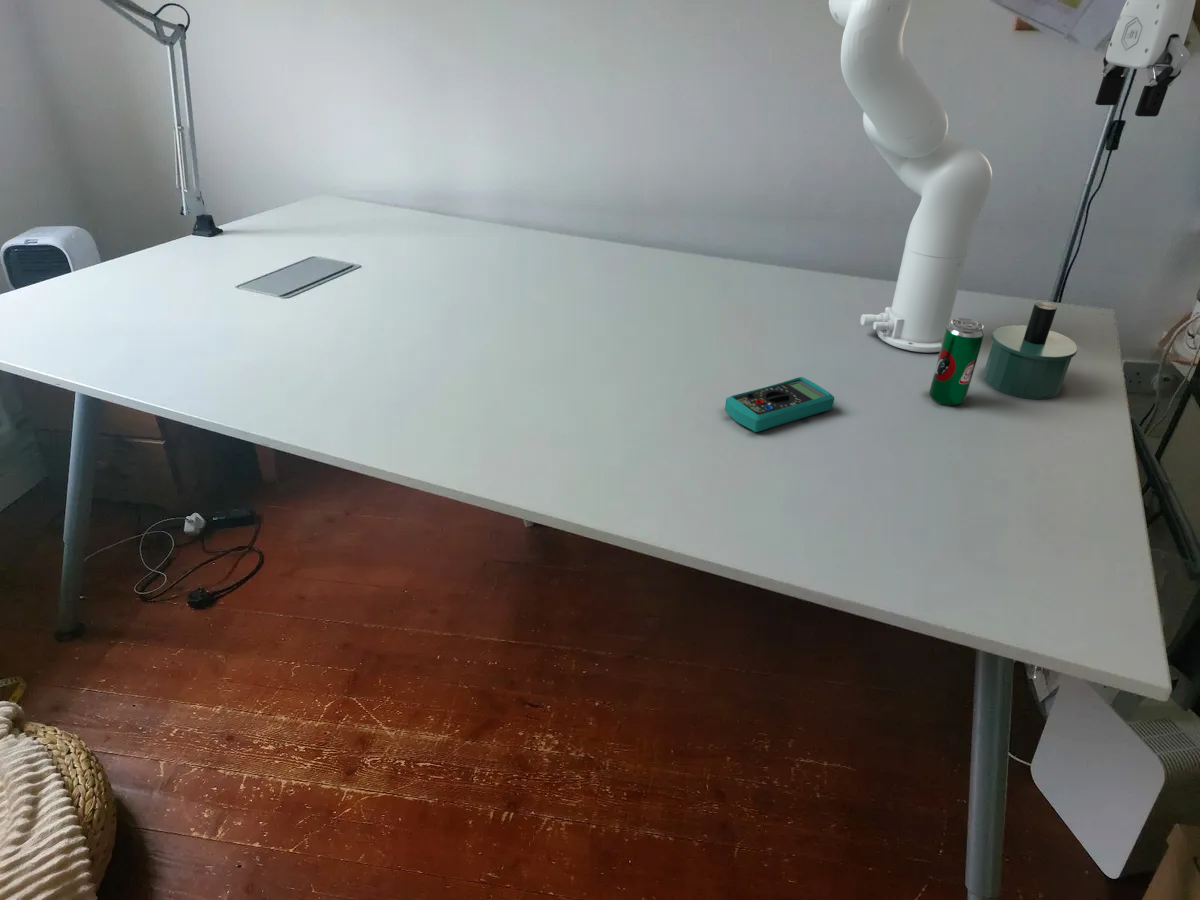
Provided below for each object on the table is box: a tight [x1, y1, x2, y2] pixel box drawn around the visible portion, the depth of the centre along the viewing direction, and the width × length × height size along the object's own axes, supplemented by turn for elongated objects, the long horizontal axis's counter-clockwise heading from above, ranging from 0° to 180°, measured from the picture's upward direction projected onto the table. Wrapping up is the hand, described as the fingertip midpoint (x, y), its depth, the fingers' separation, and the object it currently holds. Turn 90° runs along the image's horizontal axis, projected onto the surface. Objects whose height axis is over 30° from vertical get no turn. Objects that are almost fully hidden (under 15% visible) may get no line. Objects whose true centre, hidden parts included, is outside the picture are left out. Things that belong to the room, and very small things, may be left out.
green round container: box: [982, 341, 1072, 400], centre depth 122 cm, size 11×11×6 cm
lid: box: [991, 301, 1078, 361], centre depth 119 cm, size 12×12×7 cm
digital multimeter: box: [724, 376, 835, 433], centre depth 114 cm, size 7×15×3 cm, turn 119°
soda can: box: [928, 317, 985, 407], centre depth 116 cm, size 5×5×12 cm
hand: (1125, 110), depth 120 cm, fingers open, 9 cm apart
